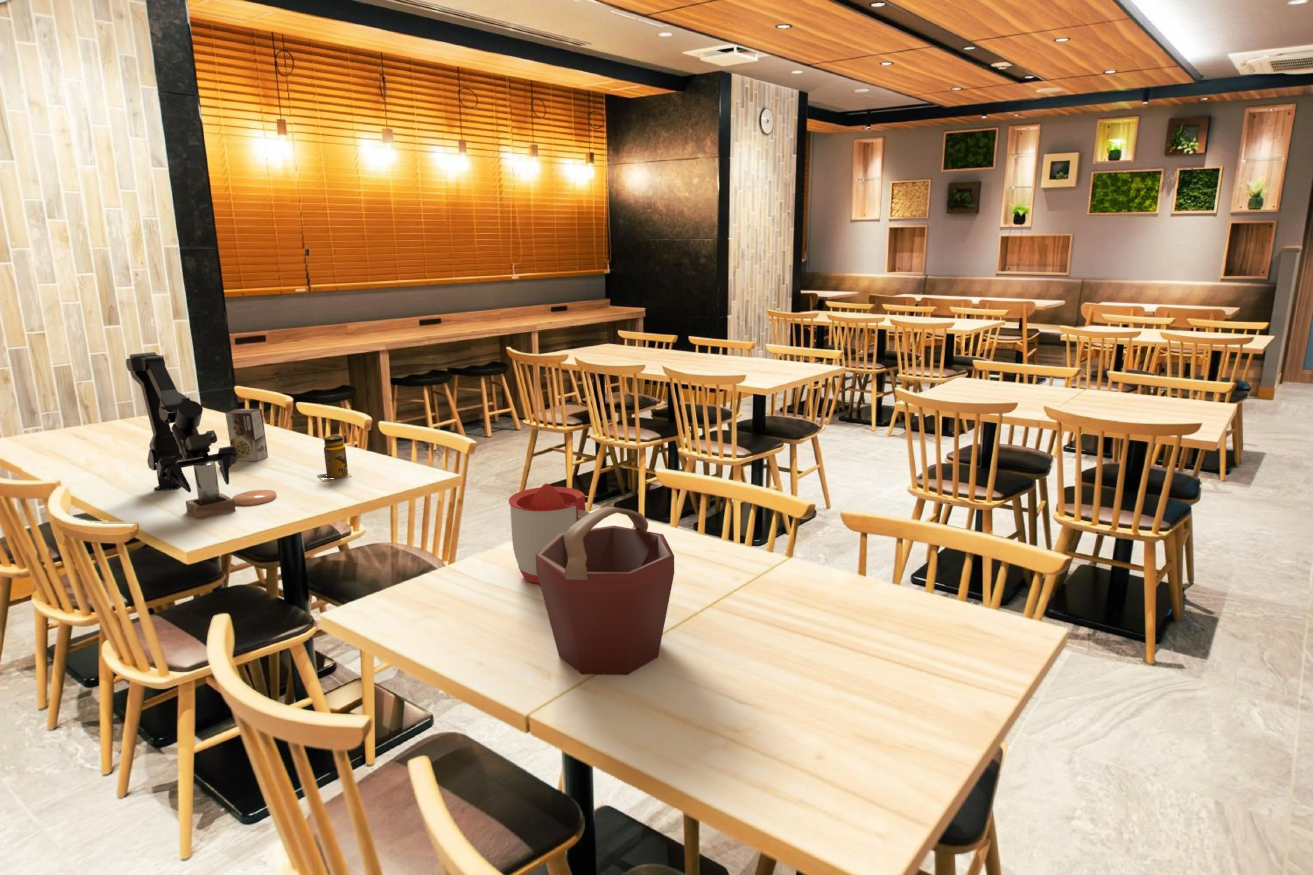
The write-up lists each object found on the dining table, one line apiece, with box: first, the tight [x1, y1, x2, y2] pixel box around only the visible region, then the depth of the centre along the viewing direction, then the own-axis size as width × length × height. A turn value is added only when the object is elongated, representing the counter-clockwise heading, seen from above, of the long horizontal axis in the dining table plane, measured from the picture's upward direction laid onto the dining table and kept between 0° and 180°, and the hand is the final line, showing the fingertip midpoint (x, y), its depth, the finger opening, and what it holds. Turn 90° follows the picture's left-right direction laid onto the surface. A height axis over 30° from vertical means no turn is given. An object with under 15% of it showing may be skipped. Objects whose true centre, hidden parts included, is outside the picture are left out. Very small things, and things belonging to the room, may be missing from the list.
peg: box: [193, 461, 221, 506], centre depth 217 cm, size 5×5×13 cm
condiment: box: [317, 435, 352, 482], centre depth 248 cm, size 7×8×12 cm
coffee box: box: [225, 408, 269, 462], centre depth 269 cm, size 9×6×16 cm
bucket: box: [536, 505, 675, 676], centre depth 139 cm, size 24×22×25 cm
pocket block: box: [185, 493, 237, 520], centre depth 218 cm, size 9×9×3 cm
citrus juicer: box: [508, 482, 590, 585], centre depth 171 cm, size 16×17×20 cm
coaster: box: [231, 489, 277, 507], centre depth 228 cm, size 11×11×1 cm
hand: (209, 487), depth 216 cm, fingers open, 9 cm apart
